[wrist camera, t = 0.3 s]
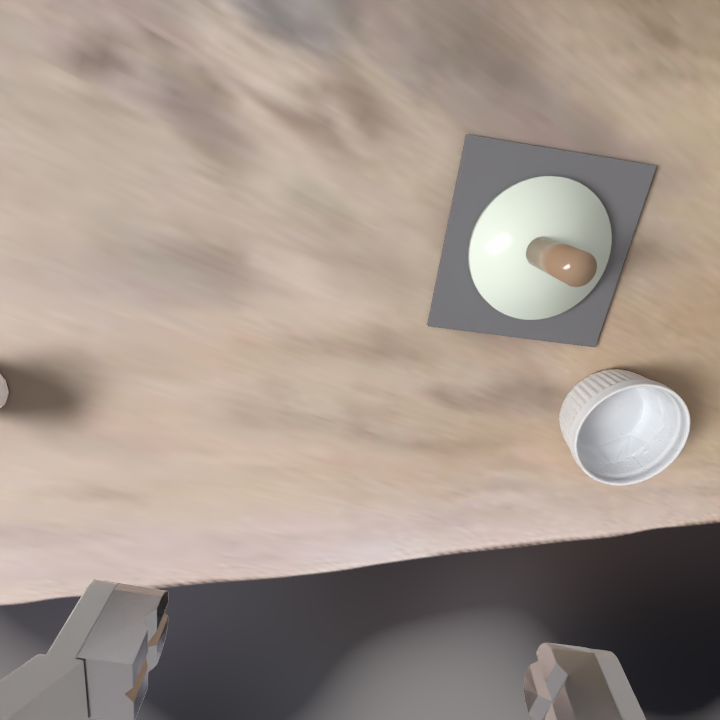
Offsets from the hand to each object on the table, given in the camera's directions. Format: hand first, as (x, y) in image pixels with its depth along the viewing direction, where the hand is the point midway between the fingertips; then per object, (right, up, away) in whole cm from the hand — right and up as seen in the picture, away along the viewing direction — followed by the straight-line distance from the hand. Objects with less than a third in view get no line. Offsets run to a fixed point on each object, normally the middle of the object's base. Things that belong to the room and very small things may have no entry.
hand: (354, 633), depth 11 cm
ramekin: (+30, 0, +52) cm, 60 cm away
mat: (+19, +18, +44) cm, 51 cm away
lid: (+19, +18, +43) cm, 51 cm away
